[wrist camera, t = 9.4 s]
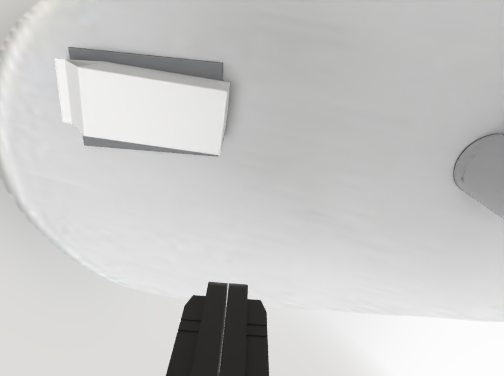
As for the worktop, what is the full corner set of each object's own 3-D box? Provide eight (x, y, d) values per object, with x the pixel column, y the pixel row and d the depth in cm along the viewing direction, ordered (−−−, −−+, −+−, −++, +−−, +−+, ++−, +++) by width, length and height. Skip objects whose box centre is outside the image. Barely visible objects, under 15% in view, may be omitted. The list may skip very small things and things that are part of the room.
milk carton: (229, 91, 30) (33, 59, 29) (221, 156, 34) (44, 130, 32) (231, 82, 37) (72, 55, 35) (224, 137, 40) (78, 115, 38)
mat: (222, 63, 36) (222, 63, 36) (218, 155, 41) (218, 156, 41) (69, 47, 35) (68, 47, 35) (85, 144, 40) (84, 145, 40)
